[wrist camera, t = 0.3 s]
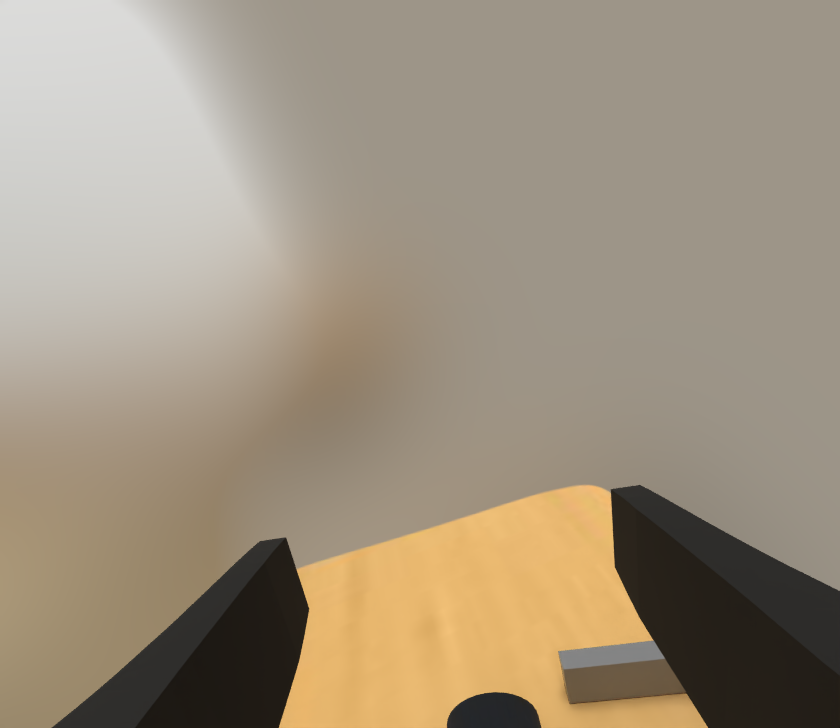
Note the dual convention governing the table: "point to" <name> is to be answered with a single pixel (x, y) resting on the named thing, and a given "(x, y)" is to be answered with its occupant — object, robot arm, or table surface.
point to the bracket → (617, 672)
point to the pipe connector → (494, 712)
